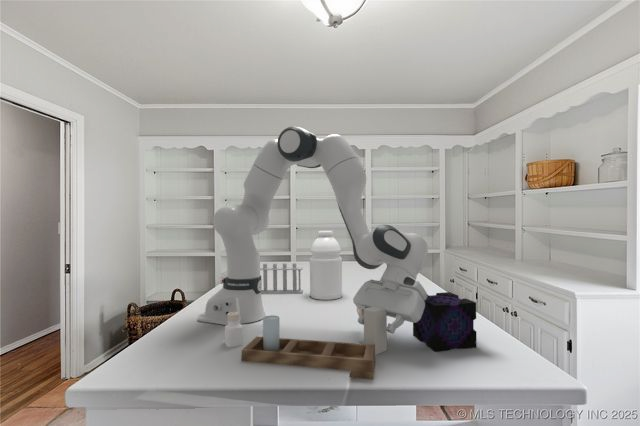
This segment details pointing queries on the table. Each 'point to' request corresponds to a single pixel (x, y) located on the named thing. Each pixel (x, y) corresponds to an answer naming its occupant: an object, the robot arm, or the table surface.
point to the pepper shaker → (233, 330)
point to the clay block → (375, 328)
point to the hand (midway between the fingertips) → (374, 327)
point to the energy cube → (447, 322)
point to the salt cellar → (271, 333)
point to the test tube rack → (283, 280)
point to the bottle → (325, 267)
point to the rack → (316, 355)
